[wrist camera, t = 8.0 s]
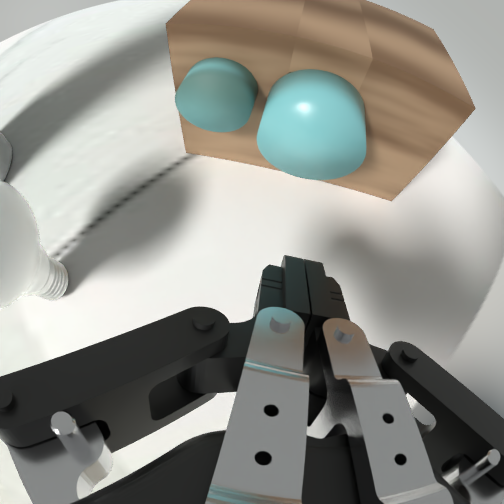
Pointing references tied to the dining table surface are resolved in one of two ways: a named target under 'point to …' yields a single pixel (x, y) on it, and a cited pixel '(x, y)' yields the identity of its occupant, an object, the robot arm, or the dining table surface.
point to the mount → (320, 58)
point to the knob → (313, 125)
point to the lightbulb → (25, 253)
